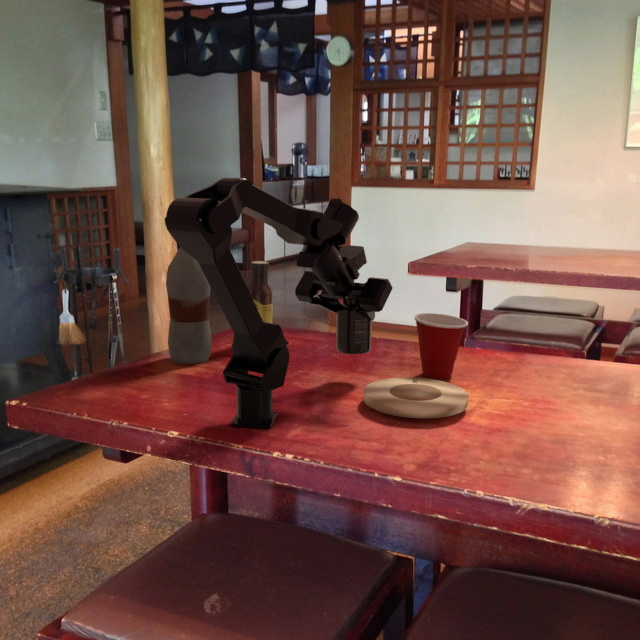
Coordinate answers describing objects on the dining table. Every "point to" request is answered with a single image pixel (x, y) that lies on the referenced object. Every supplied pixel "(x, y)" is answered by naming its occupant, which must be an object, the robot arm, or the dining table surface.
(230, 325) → the robot arm
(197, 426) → the dining table surface
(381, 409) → the disc
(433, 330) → the plastic cup
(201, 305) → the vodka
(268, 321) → the sauce bottle
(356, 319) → the supplement bottle
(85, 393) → the dining table surface
